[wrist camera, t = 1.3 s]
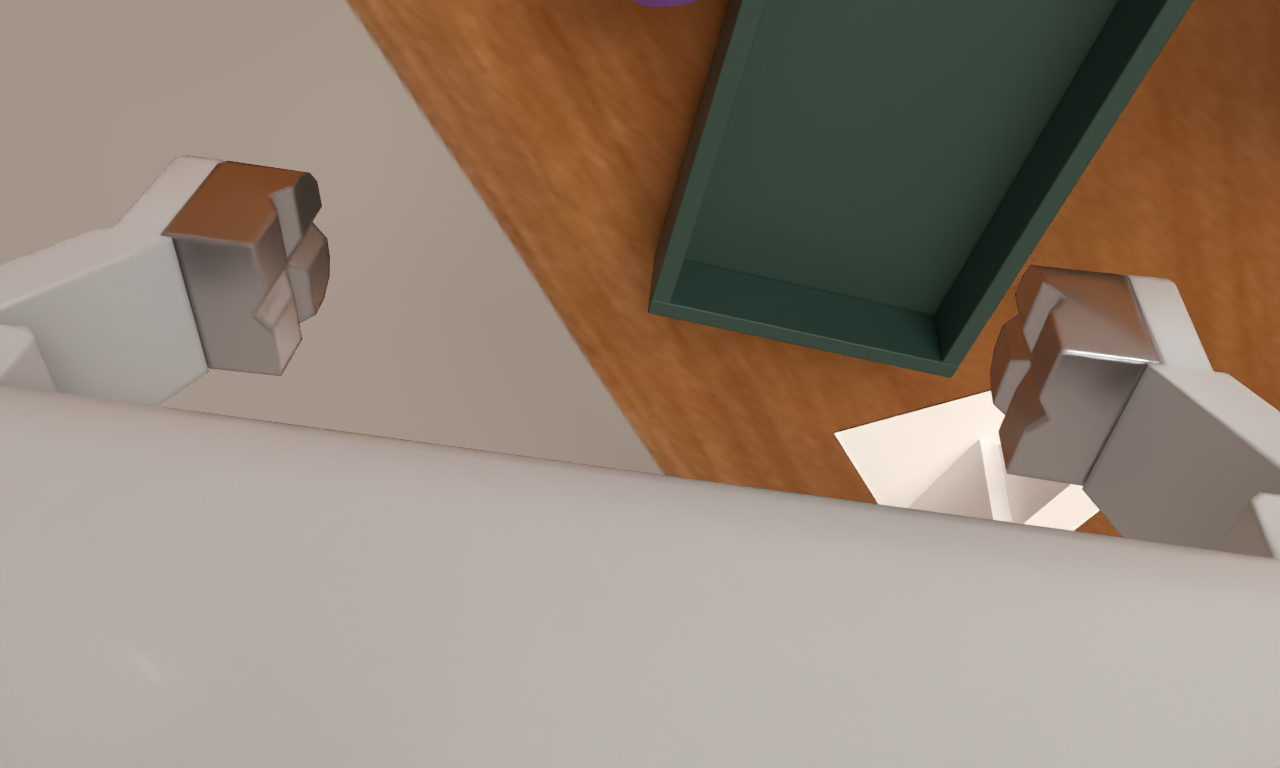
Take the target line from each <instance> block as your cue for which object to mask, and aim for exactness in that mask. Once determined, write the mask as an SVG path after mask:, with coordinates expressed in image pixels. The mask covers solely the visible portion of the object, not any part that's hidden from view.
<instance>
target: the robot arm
mask: <svg viewBox="0 0 1280 768" xmlns="http://www.w3.org/2000/svg"><path fill="white" fill-rule="evenodd" d="M321 207H322V204H321V199H320V194H319V189H318V184H317V181H316V180H315V178H314V177H313V176H312V175H311V174H310V173H308V172H301V171H294V170H287V169H280V168H273V167H266V166H260V165H253V164H246V163H239V162H233V161H223V160H221V159H212V158H204V157H194V156H181V157H176V158H174V159H173V160H172V162H171V163H170V164H169V165H168V166H167V167H166V168H165V169H164V171H163V172H162V173H161V174H160V175H159V176H158V177H157V179H156V180H155V181H154V182H153V183H152V184H151V185H150V186H149V188H148V189H147V190H146V191H145V192H144V193H143V194H142V196H141V197H140V198H139V199H138V200H137V201H136V202H135V203H134V205H133V206H132V207H131V208H130V209H129V210H128V211H127V213H126V214H125V215H124V216H123V217H122V218H121V219H120V220H119V222H118V223H117V224H116V225H115V226H114V227H113V228H112V229H108V228H100V227H99V228H96V229H93V230H91V231H88V232H85V233H83V234H80V235H78V236H75V237H72V238H70V239H67V240H64V241H62V242H59V243H57V244H54V245H51V246H49V247H46V248H43V249H41V250H38V251H36V252H33V253H30V254H28V255H25V256H22V257H20V258H17V259H15V260H12V261H9V262H7V263H4V264H1V265H0V768H1280V412H1279V411H1278V410H1276V409H1275V408H1274V407H1272V406H1271V405H1270V404H1268V403H1267V402H1266V401H1264V400H1263V399H1261V398H1260V397H1259V396H1257V395H1256V394H1255V393H1253V392H1252V391H1251V390H1249V389H1248V388H1247V387H1245V386H1244V385H1242V384H1241V383H1240V382H1238V381H1237V380H1236V379H1234V378H1233V377H1232V376H1230V375H1229V374H1227V373H1220V372H1214V371H1213V369H1212V367H1211V365H1210V362H1209V360H1208V358H1207V356H1206V353H1205V351H1204V349H1203V346H1202V344H1201V342H1200V340H1199V337H1198V335H1197V333H1196V331H1195V328H1194V326H1193V324H1192V321H1191V319H1190V317H1189V315H1188V312H1187V310H1186V308H1185V305H1184V303H1183V301H1182V299H1181V296H1180V294H1179V292H1178V290H1177V287H1176V285H1175V284H1174V283H1173V282H1172V281H1170V280H1169V279H1167V278H1158V277H1147V276H1136V275H1125V274H1121V275H1119V274H1110V273H1100V272H1091V271H1081V270H1072V269H1062V268H1053V267H1043V266H1034V265H1030V266H1029V267H1028V269H1027V270H1026V272H1025V273H1024V274H1023V276H1022V278H1021V281H1020V283H1019V285H1018V288H1017V290H1016V293H1015V298H1016V302H1017V307H1018V311H1019V315H1017V316H1016V317H1014V318H1013V319H1011V320H1010V321H1008V322H1007V323H1006V324H1004V325H1003V326H1002V329H1001V332H1000V334H999V337H998V340H997V343H996V346H995V348H994V354H993V360H992V366H991V371H990V375H991V394H992V400H993V404H994V405H995V406H996V407H997V408H998V409H999V410H1000V411H1001V412H1002V413H1003V414H1004V415H1005V417H1004V419H1003V422H1002V424H1001V426H1000V429H999V431H998V432H999V437H1000V442H1001V447H1002V452H1003V457H1004V462H1005V468H1006V473H1007V474H1011V475H1018V476H1024V477H1030V478H1036V479H1043V480H1049V481H1055V482H1061V483H1068V484H1074V485H1080V486H1083V488H1082V490H1083V491H1084V492H1085V493H1086V494H1087V496H1088V497H1089V498H1090V499H1091V500H1092V501H1093V503H1094V504H1095V505H1096V506H1097V507H1098V509H1099V510H1100V511H1101V512H1102V513H1103V514H1104V516H1105V517H1106V518H1107V519H1108V520H1109V521H1110V523H1111V524H1112V525H1113V526H1114V527H1115V529H1116V530H1117V531H1118V532H1119V533H1120V534H1121V536H1122V537H1123V538H1122V537H1114V536H1107V535H1100V534H1093V533H1085V532H1078V531H1071V530H1063V529H1056V528H1049V527H1041V526H1034V525H1027V524H1019V523H1012V522H1004V521H997V520H990V519H982V518H975V517H968V516H960V515H953V514H946V513H938V512H931V511H924V510H916V509H909V508H902V507H894V506H887V505H880V504H872V503H865V502H857V501H850V500H843V499H835V498H828V497H821V496H813V495H806V494H799V493H791V492H784V491H777V490H769V489H762V488H755V487H747V486H740V485H733V484H725V483H718V482H711V481H703V480H696V479H689V478H681V477H674V476H667V475H658V474H652V473H645V472H637V471H630V470H622V469H615V468H608V467H601V466H593V465H586V464H578V463H571V462H563V461H557V460H549V459H542V458H535V457H526V456H519V455H513V454H505V453H497V452H490V451H483V450H476V449H469V448H461V447H454V446H447V445H439V444H432V443H425V442H417V441H409V440H402V439H395V438H388V437H381V436H373V435H366V434H359V433H351V432H344V431H337V430H329V429H322V428H315V427H307V426H299V425H293V424H285V423H278V422H271V421H263V420H256V419H248V418H241V417H234V416H227V415H219V414H212V413H204V412H198V411H190V410H182V409H176V408H168V407H161V406H158V405H160V404H161V403H163V402H164V401H165V400H167V399H169V398H170V397H172V396H173V395H175V394H176V393H178V392H179V391H181V390H182V389H184V388H185V387H187V386H188V385H190V384H191V383H193V382H194V381H196V380H197V379H199V378H200V377H202V376H203V375H205V374H206V373H208V372H209V370H208V368H211V369H220V370H229V371H238V372H247V373H257V374H266V375H276V376H281V375H282V374H283V372H284V370H285V368H286V367H287V365H288V363H289V361H290V360H291V358H292V356H293V354H294V353H295V351H296V349H297V347H298V346H299V344H300V342H301V340H302V336H301V330H300V324H299V323H301V322H303V321H305V320H307V319H309V318H310V317H312V316H314V315H316V313H317V311H318V310H319V308H320V306H321V304H322V302H323V300H324V297H325V293H326V288H327V284H328V280H329V272H330V268H329V267H330V266H329V265H330V255H329V248H328V242H327V238H326V237H325V236H324V234H323V233H322V232H321V231H320V230H319V229H318V228H317V226H316V225H315V224H314V223H313V220H314V218H315V217H316V215H317V213H318V212H319V210H320V208H321Z"/></svg>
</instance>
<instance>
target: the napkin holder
mask: <svg viewBox="0 0 1280 768" xmlns="http://www.w3.org/2000/svg"><path fill="white" fill-rule="evenodd" d="M1004 417H1005V415H1004V414H1003V413H1002V412H1001V411H1000V410H999V409H998V408H997V407H996V406H995V405H994V404H993V400H992V394H991V391H987V392H983V393H980V394H976V395H972V396H969V397H965V398H961V399H958V400H954V401H950V402H947V403H943V404H939V405H936V406H932V407H928V408H925V409H921V410H917V411H914V412H910V413H906V414H903V415H899V416H895V417H891V418H888V419H884V420H880V421H877V422H873V423H869V424H866V425H862V426H858V427H855V428H851V429H847V430H844V431H840V432H836V433H834V434H835V436H836V438H837V439H838V441H839V442H840V444H841V446H842V447H843V449H844V450H845V452H846V454H847V455H848V457H849V458H850V460H851V462H852V463H853V465H854V466H855V468H856V470H857V471H858V473H859V474H860V476H861V477H862V479H863V481H864V482H865V484H866V485H867V487H868V489H869V490H870V492H871V493H872V495H873V497H874V498H875V500H876V501H877V503H878V504H880V505H887V506H894V507H902V508H909V509H916V510H924V511H931V512H938V513H946V514H953V515H960V516H968V517H975V518H982V519H990V520H997V521H1004V522H1012V523H1019V524H1027V525H1034V526H1041V527H1049V528H1056V529H1063V530H1071V531H1074V530H1075V529H1076V528H1078V527H1079V526H1080V525H1081V524H1083V523H1084V522H1085V521H1087V520H1088V519H1089V518H1090V517H1092V516H1093V515H1094V514H1096V513H1097V512H1098V511H1099V509H1098V507H1097V506H1096V505H1095V504H1094V503H1093V501H1092V500H1091V499H1090V498H1089V497H1088V496H1087V494H1086V493H1085V492H1084V491H1083V490H1082V488H1083V486H1080V485H1074V484H1068V483H1061V482H1055V481H1049V480H1043V479H1036V478H1030V477H1024V476H1018V475H1011V474H1007V473H1006V468H1005V462H1004V457H1003V452H1002V447H1001V442H1000V437H999V432H998V431H999V429H1000V426H1001V424H1002V422H1003V419H1004Z"/></svg>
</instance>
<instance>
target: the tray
mask: <svg viewBox="0 0 1280 768" xmlns="http://www.w3.org/2000/svg"><path fill="white" fill-rule="evenodd" d="M1193 1H1194V0H730V1H729V4H728V8H727V11H726V15H725V18H724V22H723V25H722V28H721V32H720V35H719V39H718V42H717V45H716V49H715V52H714V56H713V59H712V63H711V66H710V69H709V73H708V76H707V80H706V83H705V86H704V90H703V93H702V97H701V100H700V104H699V107H698V110H697V114H696V117H695V121H694V124H693V128H692V131H691V134H690V138H689V141H688V145H687V148H686V151H685V155H684V158H683V162H682V165H681V169H680V172H679V175H678V179H677V182H676V186H675V189H674V192H673V196H672V199H671V203H670V206H669V210H668V213H667V216H666V220H665V223H664V227H663V230H662V234H661V237H660V240H659V244H658V247H657V251H656V254H655V257H654V266H653V274H652V282H651V290H650V298H649V307H648V312H649V313H652V314H657V315H661V316H666V317H670V318H675V319H680V320H684V321H689V322H694V323H698V324H703V325H708V326H712V327H717V328H721V329H726V330H731V331H735V332H740V333H745V334H749V335H754V336H759V337H763V338H768V339H772V340H777V341H782V342H786V343H791V344H796V345H800V346H805V347H810V348H814V349H819V350H823V351H828V352H833V353H837V354H842V355H847V356H851V357H856V358H861V359H865V360H870V361H874V362H879V363H884V364H888V365H893V366H898V367H902V368H907V369H912V370H916V371H921V372H925V373H930V374H935V375H939V376H944V377H949V378H952V376H953V375H954V373H955V372H956V370H957V369H958V367H959V365H960V364H961V362H962V361H963V359H964V357H965V356H966V354H967V353H968V351H969V350H970V348H971V347H972V345H973V343H974V342H975V340H976V339H977V337H978V336H979V334H980V332H981V331H982V329H983V328H984V326H985V325H986V323H987V322H988V320H989V318H990V317H991V315H992V314H993V312H994V311H995V309H996V308H997V306H998V304H999V303H1000V301H1001V300H1002V298H1003V297H1004V295H1005V294H1006V292H1007V290H1008V289H1009V287H1010V286H1011V284H1012V283H1013V281H1014V280H1015V278H1016V276H1017V275H1018V273H1019V272H1020V270H1021V269H1022V267H1023V265H1024V264H1025V262H1026V261H1027V259H1028V258H1029V256H1030V255H1031V253H1032V251H1033V250H1034V248H1035V247H1036V245H1037V244H1038V242H1039V241H1040V239H1041V237H1042V236H1043V234H1044V233H1045V231H1046V230H1047V228H1048V227H1049V225H1050V223H1051V222H1052V220H1053V219H1054V217H1055V216H1056V214H1057V213H1058V211H1059V209H1060V208H1061V206H1062V205H1063V203H1064V202H1065V200H1066V198H1067V197H1068V195H1069V194H1070V192H1071V191H1072V189H1073V188H1074V186H1075V184H1076V183H1077V181H1078V180H1079V178H1080V177H1081V175H1082V174H1083V172H1084V170H1085V169H1086V167H1087V166H1088V164H1089V163H1090V161H1091V160H1092V158H1093V156H1094V155H1095V153H1096V152H1097V150H1098V149H1099V147H1100V145H1101V144H1102V142H1103V141H1104V139H1105V138H1106V136H1107V135H1108V133H1109V131H1110V130H1111V128H1112V127H1113V125H1114V124H1115V122H1116V121H1117V119H1118V117H1119V116H1120V114H1121V113H1122V111H1123V110H1124V108H1125V107H1126V105H1127V103H1128V102H1129V100H1130V99H1131V97H1132V96H1133V94H1134V93H1135V91H1136V89H1137V88H1138V86H1139V85H1140V83H1141V82H1142V80H1143V78H1144V77H1145V75H1146V74H1147V72H1148V71H1149V69H1150V68H1151V66H1152V64H1153V63H1154V61H1155V60H1156V58H1157V57H1158V55H1159V54H1160V52H1161V50H1162V49H1163V47H1164V46H1165V44H1166V43H1167V41H1168V40H1169V38H1170V36H1171V35H1172V33H1173V32H1174V30H1175V29H1176V27H1177V26H1178V24H1179V22H1180V21H1181V19H1182V18H1183V16H1184V15H1185V13H1186V11H1187V10H1188V8H1189V7H1190V5H1191V4H1192V2H1193Z"/></svg>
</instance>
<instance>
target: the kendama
mask: <svg viewBox="0 0 1280 768" xmlns="http://www.w3.org/2000/svg"><path fill="white" fill-rule="evenodd" d="M633 1H635V2H636V3H638V4H642V5H646V6H650V7H667V6H677V5H684V4H688V3H691V2H694V1H697V0H633Z"/></svg>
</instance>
